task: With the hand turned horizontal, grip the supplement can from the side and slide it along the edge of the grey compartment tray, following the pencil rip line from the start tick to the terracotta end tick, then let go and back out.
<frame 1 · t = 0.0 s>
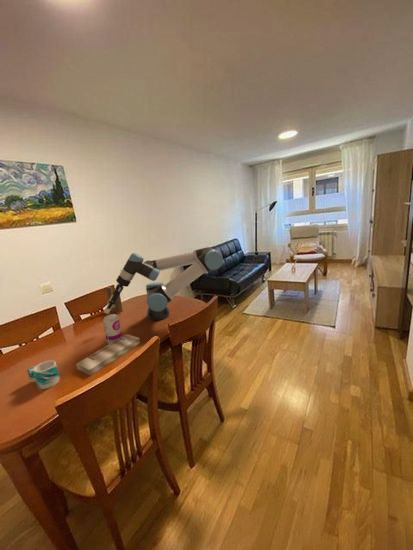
hand: (107, 308, 143), 15 cm above the table, tool tilted 35°, fingers open, 13 cm apart
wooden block: (115, 311, 178), on the table
grey compartment tray: (111, 355, 122), on the table
mug: (45, 382, 105), on the table
supplement can: (115, 341, 135), on the table
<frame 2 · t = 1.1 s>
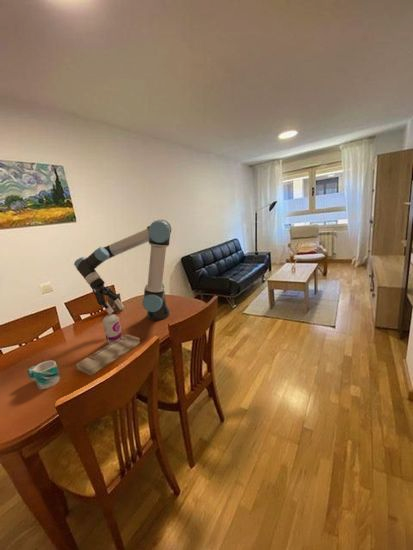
hand: (117, 310, 139), 15 cm above the table, tool tilted 40°, fingers open, 13 cm apart
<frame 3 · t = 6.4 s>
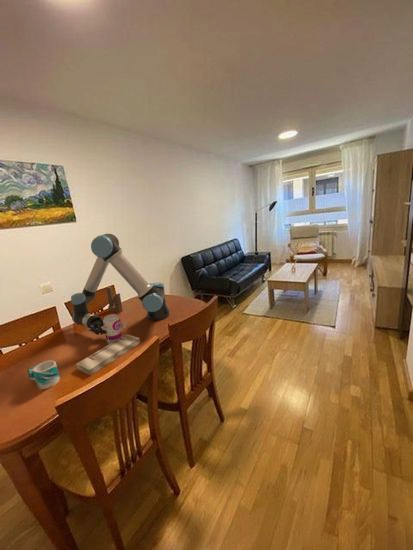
hand: (118, 329, 131), 9 cm above the table, tool horizontal, fingers closed on supplement can, 8 cm apart
supplement can: (115, 341, 135), on the table, touching gripper
everything else where it was.
when the fingers open (9 cm above the table, at t = 13.1 s): supplement can stays where it is, on the table.
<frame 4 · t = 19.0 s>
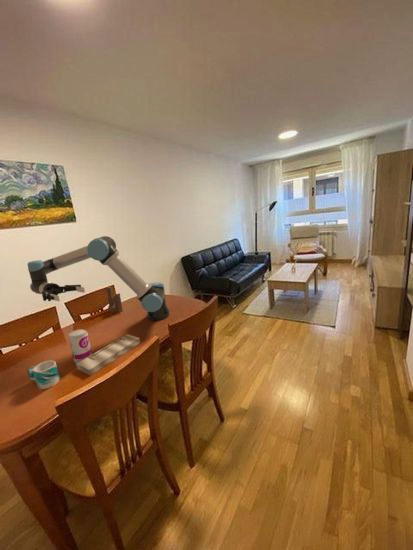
hand: (71, 294, 125), 30 cm above the table, tool horizontal, fingers open, 13 cm apart
supplement can: (83, 360, 120), on the table
everything else where it was.
at the end: supplement can 0.1 cm from the target spot, on the table; supplement can tilted 0°; the gripper is holding nothing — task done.
